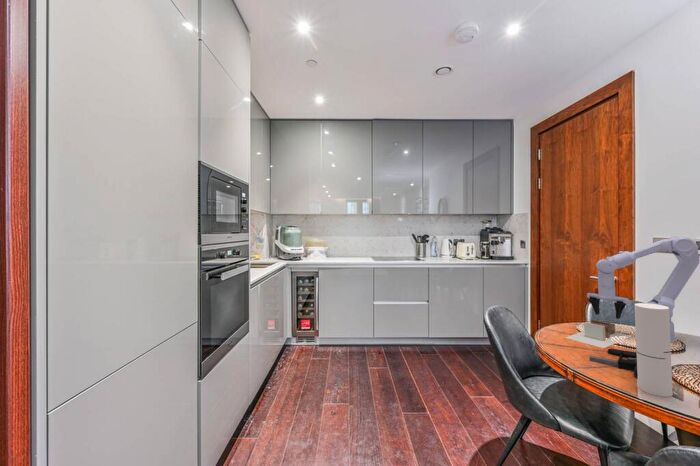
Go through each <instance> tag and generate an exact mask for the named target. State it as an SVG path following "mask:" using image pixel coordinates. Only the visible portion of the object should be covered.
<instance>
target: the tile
mask: <svg viewBox="0 0 700 466" xmlns="http://www.w3.org/2000/svg"><path fill="white" fill-rule="evenodd" d="M583 326H584V330H583V331H585V336H586V337H590V338H594V339H598V340H602V341H605V340H606V336H605V326H601V325H597V324H592V323H590V322H588V321H587V322H586V321H585V322H584V323H583Z"/></svg>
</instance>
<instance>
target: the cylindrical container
mask: <svg viewBox="0 0 700 466" xmlns="http://www.w3.org/2000/svg"><path fill="white" fill-rule="evenodd" d="M634 317H635V318H634V324H635V327H634V328H635V345H636V346H635V348H636V352H637V360H636V361H637V374H638V377H637V388H638V389H639V390H641V391H643V392H645V393H647V394H650V395H653V396H658V397H662V398H663V397H664V398H669V397H673V395H674V394H673V375H672V373H673V372H672V371H673V368H672V352H671V351H672V347H671V346H672V345H671V343H670V321H669V307H667V306H663V305H657V304H649V303H647V302H646V303H645V302H638V303H634Z"/></svg>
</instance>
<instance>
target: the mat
mask: <svg viewBox="0 0 700 466" xmlns="http://www.w3.org/2000/svg"><path fill="white" fill-rule="evenodd" d="M615 336H617V337H619V336H626V337H628V338H627V339H630V338H632V337H633V335H628V334H626V333H620V332H618V331H615V333H613V334H611V335H610V337H615ZM564 338H565V339H568V340H571V341H574V342H579V343H582V344H586V345H589V346H590V345H591V346H593V347H597V348H601V349H605V348H607V347H610V346H612V345H615V344H616V343H615V342H612V341H611V338H607V339H606V340H605V341H602V340H598V339H594V338H590V337H586V336H585V330H583V331H580V332H578V333H574V334H572V335H569V336H565V337H564Z"/></svg>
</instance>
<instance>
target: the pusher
mask: <svg viewBox="0 0 700 466" xmlns="http://www.w3.org/2000/svg"><path fill="white" fill-rule="evenodd" d="M589 323H592V324H597V325H601V326H605V336H606V338H610V335H611V334H613V333H615V332H616V326H615V325H616V324H615V323H611V322H608V321H607V322H606V321H603V320H596V319H591V321H590V322H589Z"/></svg>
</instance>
